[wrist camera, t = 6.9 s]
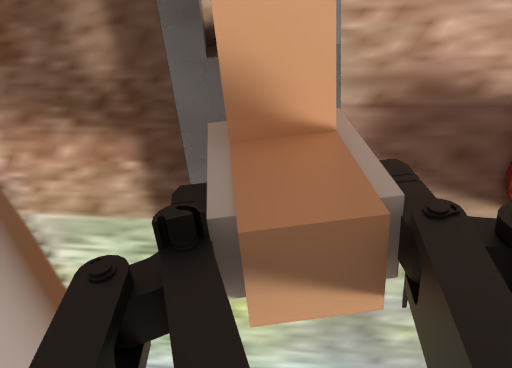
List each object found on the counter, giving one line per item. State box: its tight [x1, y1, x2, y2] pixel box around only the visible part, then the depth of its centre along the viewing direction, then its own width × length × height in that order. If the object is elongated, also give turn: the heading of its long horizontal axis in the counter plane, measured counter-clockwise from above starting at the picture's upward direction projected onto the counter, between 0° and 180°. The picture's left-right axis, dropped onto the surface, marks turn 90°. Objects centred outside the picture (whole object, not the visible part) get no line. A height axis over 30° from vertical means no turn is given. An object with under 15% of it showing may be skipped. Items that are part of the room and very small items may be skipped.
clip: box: [211, 0, 390, 327], centre depth 16 cm, size 12×4×12 cm, turn 5°
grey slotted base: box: [156, 0, 341, 184], centre depth 25 cm, size 20×9×3 cm, turn 5°
